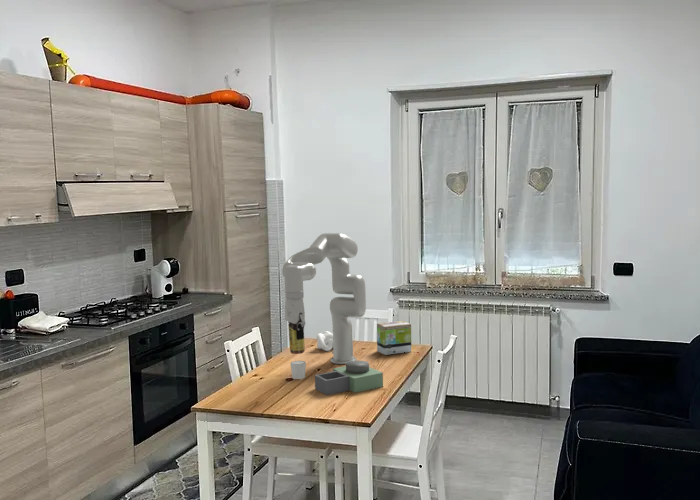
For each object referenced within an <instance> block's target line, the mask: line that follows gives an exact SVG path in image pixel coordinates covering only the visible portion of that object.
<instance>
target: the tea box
mask: <svg viewBox="0 0 700 500" xmlns="http://www.w3.org/2000/svg"><path fill="white" fill-rule="evenodd" d="M376 351H377V352H378V353H380V354H382V355H384V356H387V355H388V356H389V355H395V354H396V355H397V354H403V353H404V352H405V353H411V352H412V324H411V323H409V322H406V321H404V320H398V321H396V320H395V321H388V322H379V323H378V322H377V323H376ZM410 351H411V352H410ZM405 353H404V354H405Z"/></svg>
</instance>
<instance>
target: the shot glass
mask: <svg viewBox="0 0 700 500" xmlns="http://www.w3.org/2000/svg"><path fill="white" fill-rule="evenodd" d="M289 364H290V369H291V370H290V371H291V378H292V379H293V380H295V379H300V380H303V378H304V379H305V378H306V367H307V366H306V365H307V362H306V361H305V360H295V361H291V362H290V363H289Z"/></svg>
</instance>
